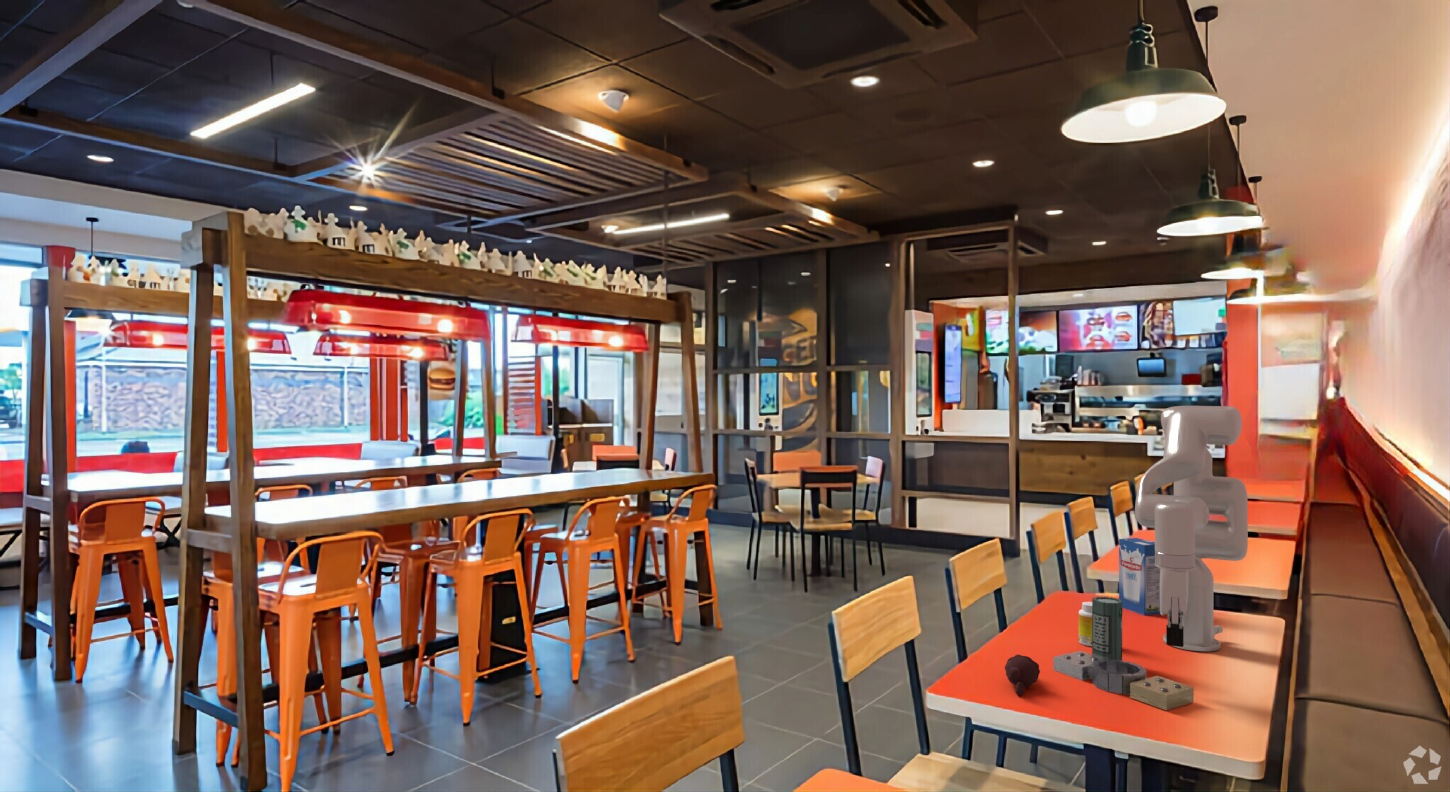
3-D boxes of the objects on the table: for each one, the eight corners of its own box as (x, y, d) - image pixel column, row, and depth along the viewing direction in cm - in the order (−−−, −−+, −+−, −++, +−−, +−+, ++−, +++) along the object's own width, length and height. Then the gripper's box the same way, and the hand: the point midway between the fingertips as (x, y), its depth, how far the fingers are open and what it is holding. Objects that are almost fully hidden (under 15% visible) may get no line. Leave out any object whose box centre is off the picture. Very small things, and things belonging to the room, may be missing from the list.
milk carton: (1162, 613, 236) (1162, 543, 236) (1144, 615, 235) (1144, 545, 234) (1136, 604, 246) (1136, 537, 246) (1118, 606, 244) (1118, 538, 244)
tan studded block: (1157, 689, 177) (1157, 674, 177) (1193, 701, 170) (1193, 686, 170) (1130, 697, 173) (1130, 681, 173) (1166, 710, 166) (1166, 694, 166)
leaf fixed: (1082, 663, 195) (1082, 646, 195) (1156, 689, 178) (1156, 670, 178) (1051, 670, 190) (1051, 652, 190) (1124, 697, 173) (1124, 678, 173)
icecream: (1007, 644, 189) (993, 669, 176) (1040, 641, 185) (1028, 666, 172) (1015, 674, 189) (1002, 701, 176) (1049, 671, 185) (1037, 699, 172)
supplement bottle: (1094, 648, 205) (1094, 607, 205) (1073, 642, 210) (1074, 602, 210) (1107, 644, 208) (1107, 604, 208) (1087, 639, 213) (1087, 599, 213)
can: (1126, 664, 194) (1127, 600, 193) (1111, 669, 190) (1111, 604, 190) (1102, 657, 199) (1103, 595, 198) (1087, 662, 195) (1087, 598, 195)
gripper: (1155, 550, 185) (1155, 631, 186) (1154, 566, 171) (1154, 653, 172) (1194, 553, 181) (1194, 636, 182) (1196, 570, 168) (1196, 659, 169)
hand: (1174, 644), depth 177 cm, fingers closed
